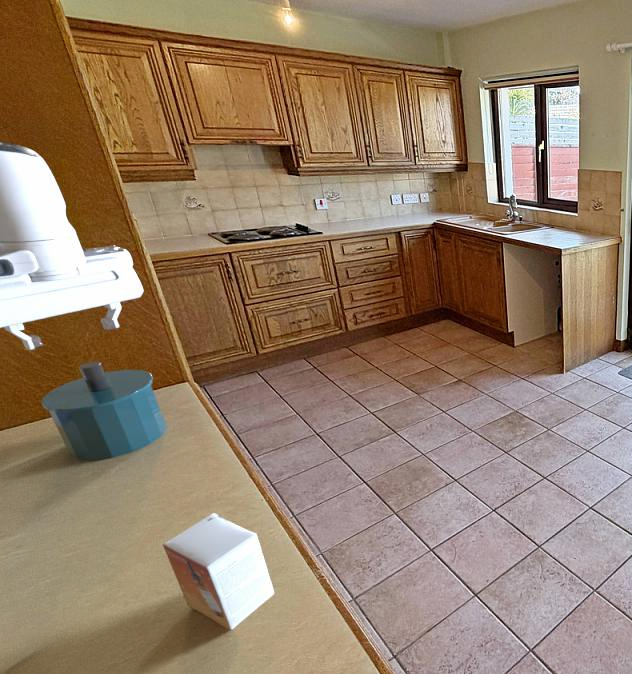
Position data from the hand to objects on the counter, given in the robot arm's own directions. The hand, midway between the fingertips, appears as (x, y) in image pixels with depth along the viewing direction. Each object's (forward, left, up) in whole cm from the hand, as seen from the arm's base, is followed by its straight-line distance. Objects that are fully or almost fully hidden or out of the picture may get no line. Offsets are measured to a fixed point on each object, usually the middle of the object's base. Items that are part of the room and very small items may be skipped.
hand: (75, 337), depth 78 cm
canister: (0, 0, -21) cm, 21 cm away
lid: (0, 0, -10) cm, 10 cm away
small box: (+50, -12, -21) cm, 55 cm away
